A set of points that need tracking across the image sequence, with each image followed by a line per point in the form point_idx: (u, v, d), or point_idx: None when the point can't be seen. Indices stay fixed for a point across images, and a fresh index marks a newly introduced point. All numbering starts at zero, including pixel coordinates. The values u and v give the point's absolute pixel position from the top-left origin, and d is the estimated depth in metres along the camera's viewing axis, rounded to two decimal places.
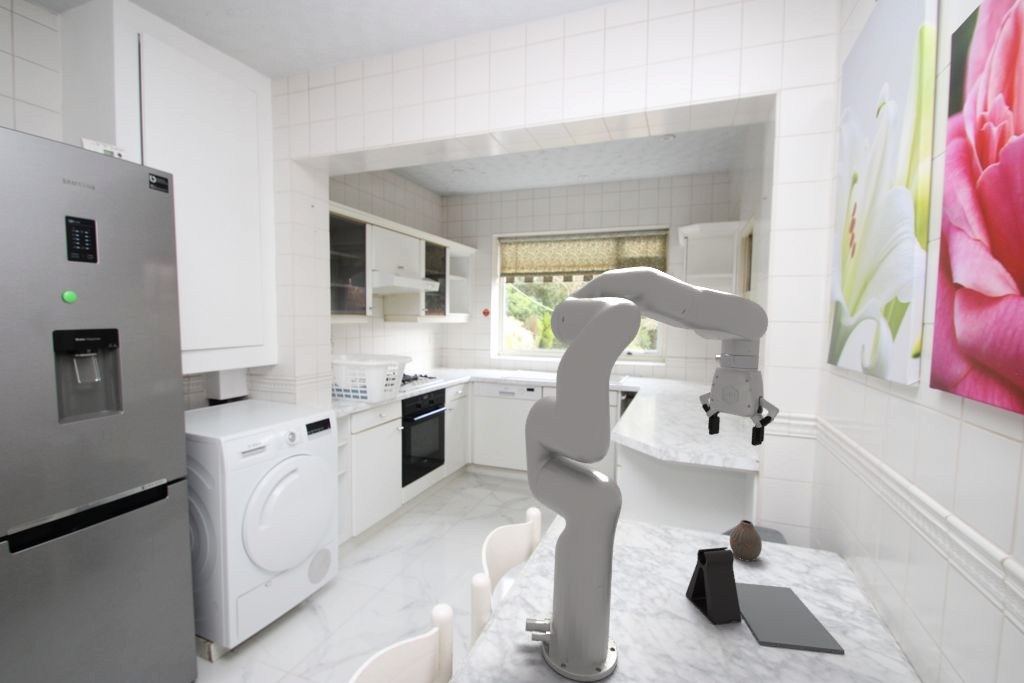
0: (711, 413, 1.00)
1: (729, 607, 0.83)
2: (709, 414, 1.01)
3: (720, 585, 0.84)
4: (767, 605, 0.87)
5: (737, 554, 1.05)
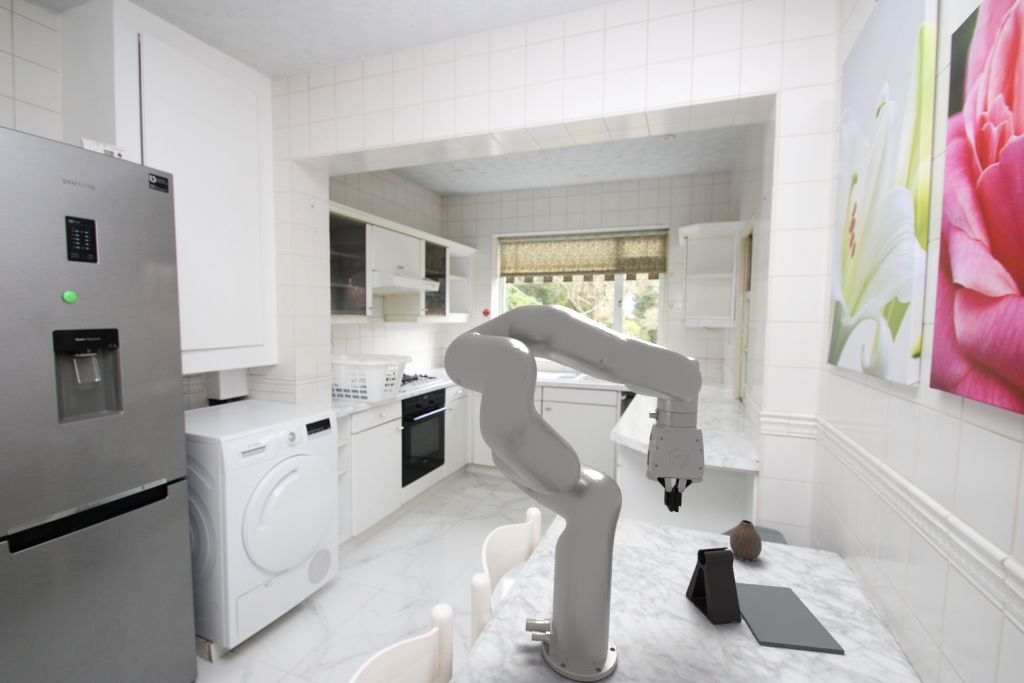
0: None
1: (729, 607, 0.83)
2: (669, 488, 0.86)
3: (720, 585, 0.84)
4: (767, 605, 0.87)
5: (737, 554, 1.05)
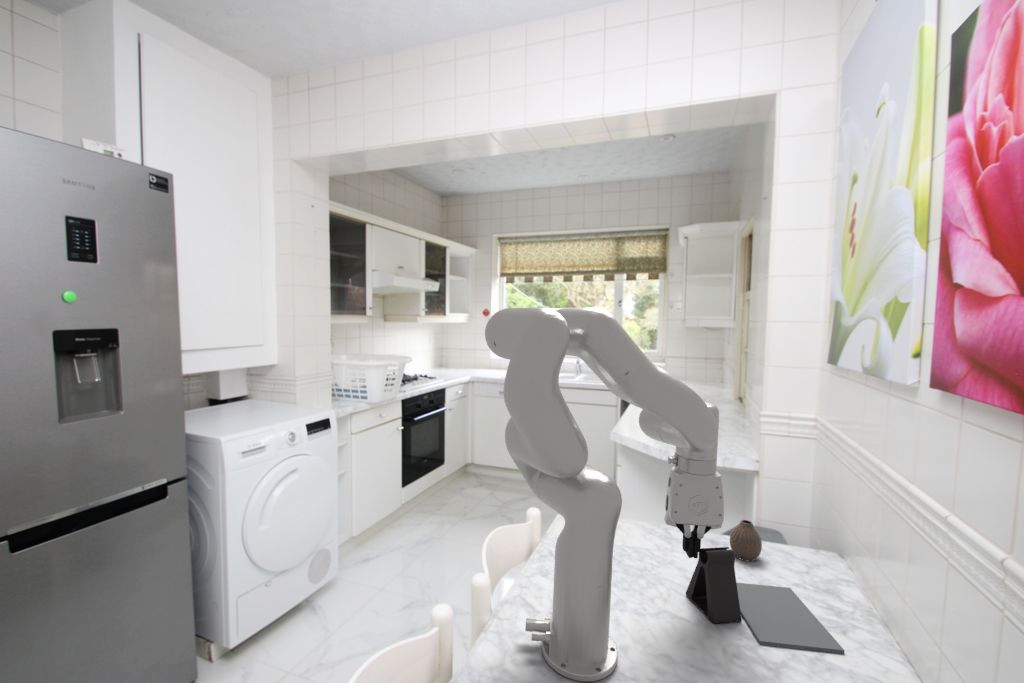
0: (691, 533, 0.85)
1: (729, 607, 0.83)
2: (688, 534, 0.85)
3: (721, 584, 0.84)
4: (767, 605, 0.87)
5: (737, 554, 1.05)
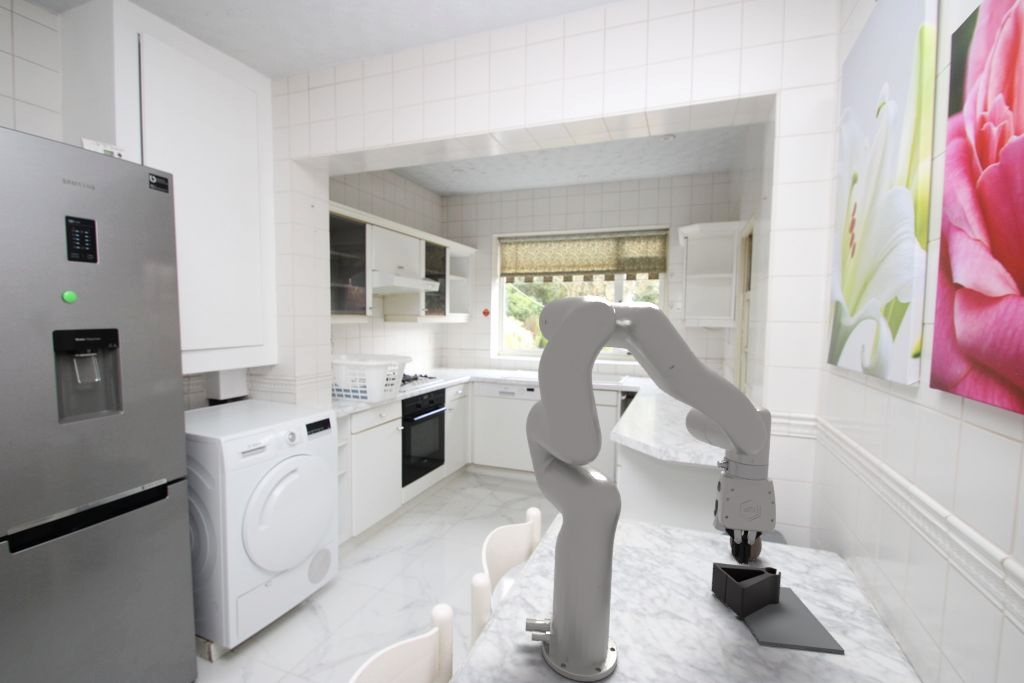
0: (741, 539, 0.84)
1: (750, 603, 0.84)
2: (738, 539, 0.84)
3: (762, 592, 0.86)
4: (767, 605, 0.87)
5: None
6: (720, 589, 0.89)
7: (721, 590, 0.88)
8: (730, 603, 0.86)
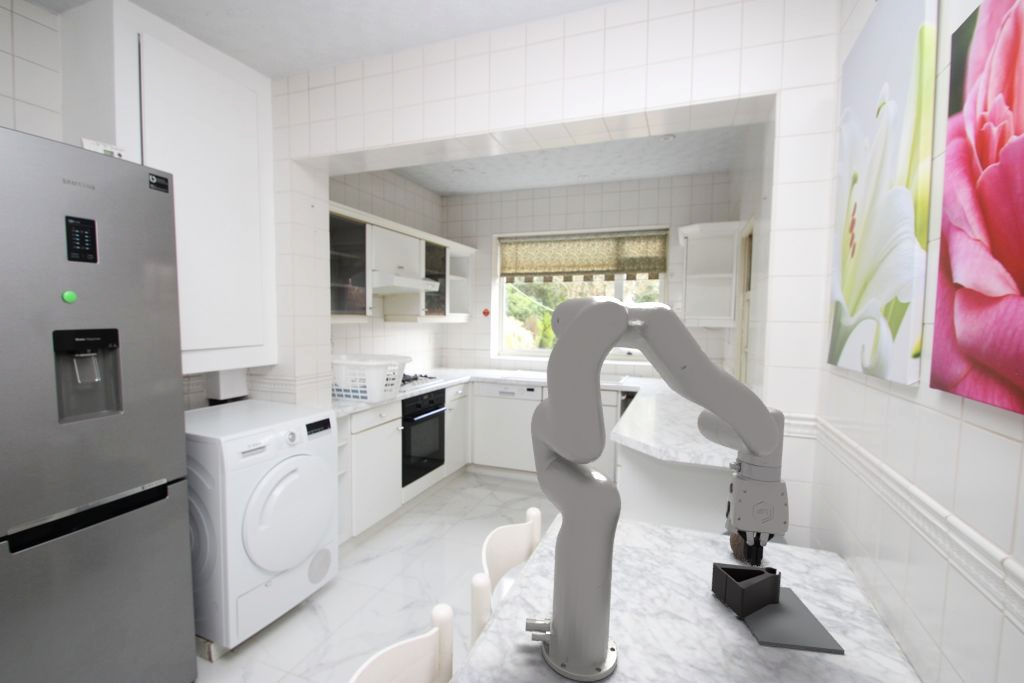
0: (754, 540, 0.84)
1: (750, 603, 0.84)
2: (750, 541, 0.84)
3: (762, 592, 0.86)
4: (767, 605, 0.87)
5: (737, 554, 1.05)
6: (720, 589, 0.89)
7: (721, 590, 0.88)
8: (730, 603, 0.86)
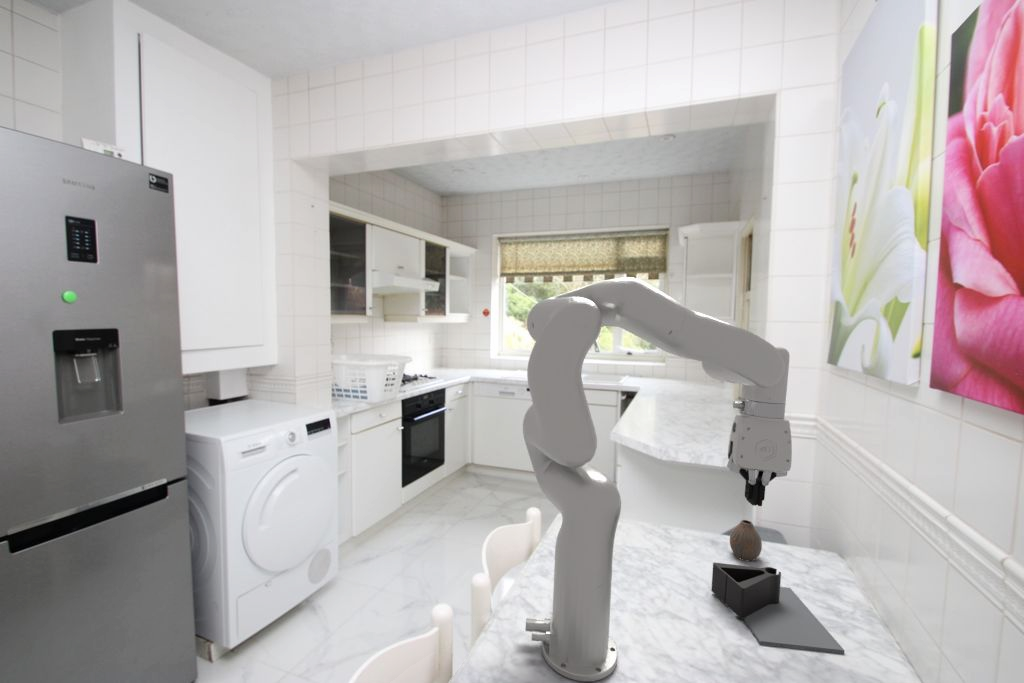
0: (756, 480, 0.83)
1: (750, 603, 0.84)
2: (752, 481, 0.83)
3: (762, 592, 0.86)
4: (767, 605, 0.87)
5: (737, 554, 1.05)
6: (720, 589, 0.89)
7: (721, 590, 0.88)
8: (730, 603, 0.86)
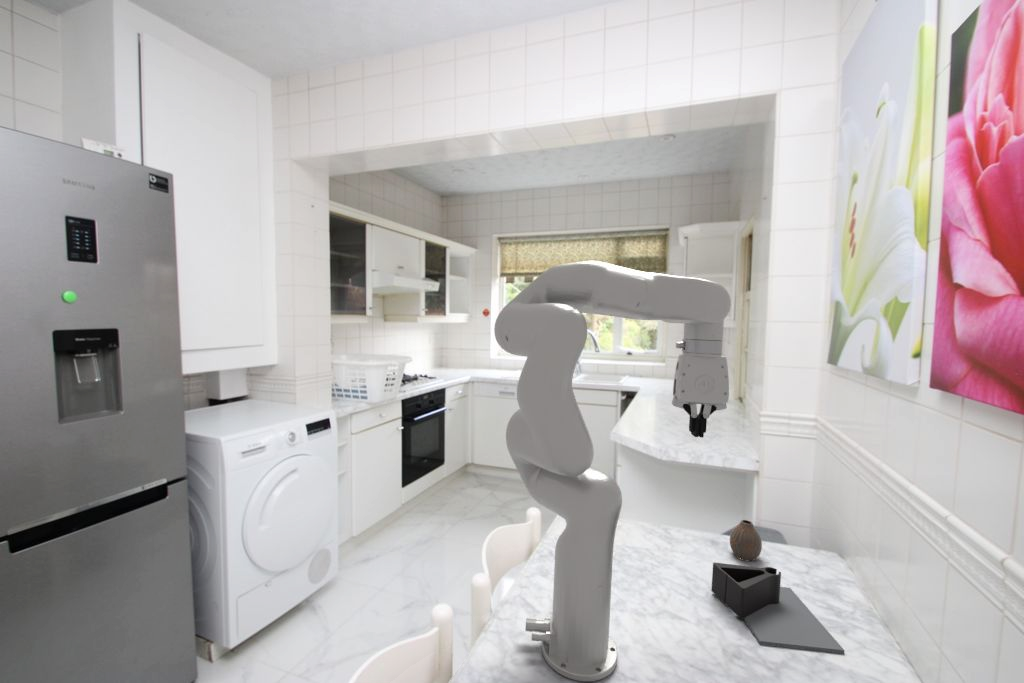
0: None
1: (750, 603, 0.84)
2: (694, 414, 0.90)
3: (762, 592, 0.86)
4: (767, 605, 0.87)
5: (737, 554, 1.05)
6: (720, 589, 0.89)
7: (721, 590, 0.88)
8: (730, 603, 0.86)
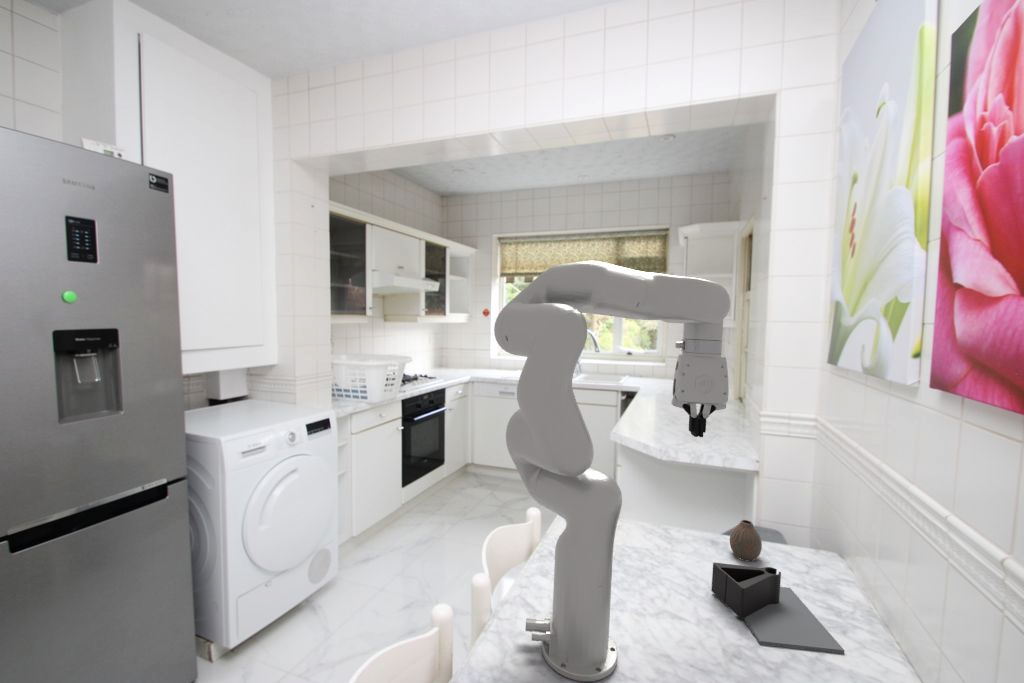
0: None
1: (750, 603, 0.84)
2: (694, 414, 0.90)
3: (762, 592, 0.86)
4: (767, 605, 0.87)
5: (737, 554, 1.05)
6: (720, 589, 0.89)
7: (721, 590, 0.88)
8: (730, 603, 0.86)
